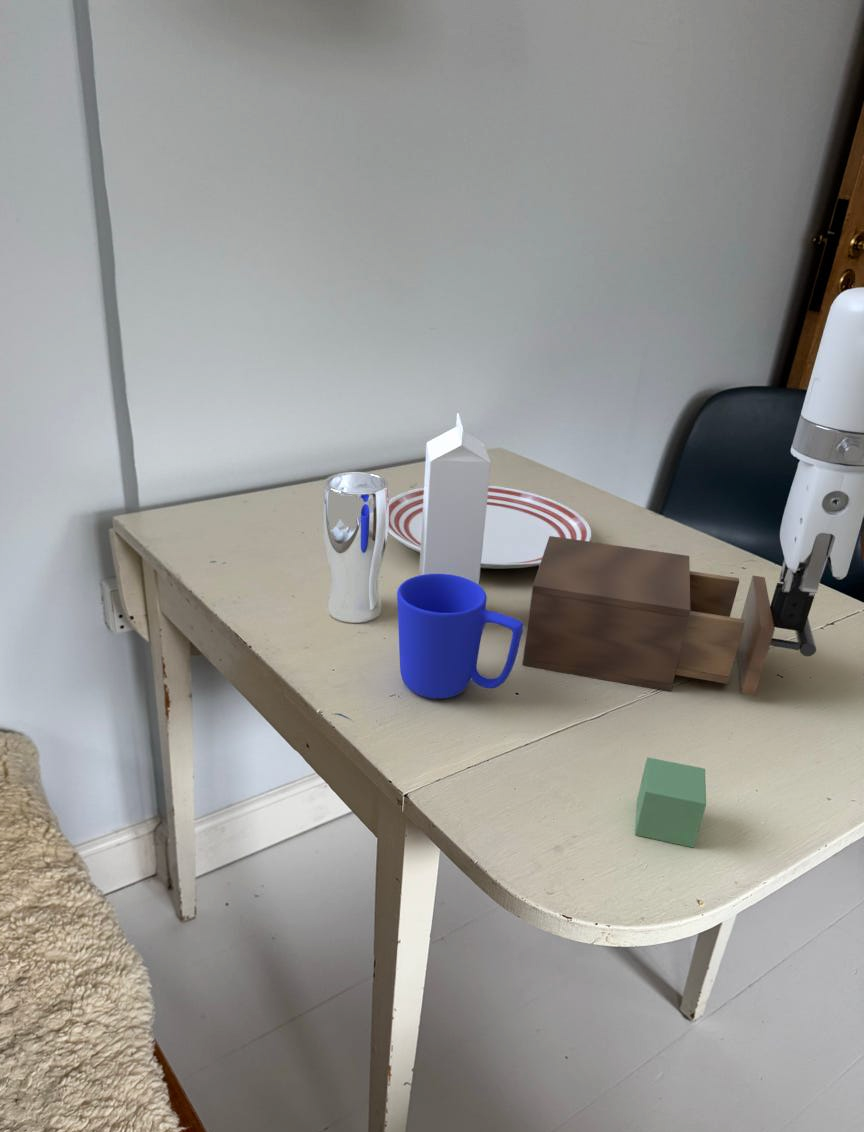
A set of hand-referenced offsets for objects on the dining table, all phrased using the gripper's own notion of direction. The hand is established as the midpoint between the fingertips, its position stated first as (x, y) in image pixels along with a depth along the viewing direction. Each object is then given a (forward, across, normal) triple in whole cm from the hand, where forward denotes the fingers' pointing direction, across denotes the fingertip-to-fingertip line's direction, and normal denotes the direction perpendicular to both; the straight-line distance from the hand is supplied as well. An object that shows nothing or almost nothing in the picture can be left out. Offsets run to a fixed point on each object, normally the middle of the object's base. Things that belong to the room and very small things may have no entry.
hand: (784, 624), depth 85 cm
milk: (+6, +1, +34) cm, 34 cm away
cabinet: (+6, 0, +17) cm, 18 cm away
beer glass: (+6, -1, +44) cm, 44 cm away
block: (+6, -26, +10) cm, 28 cm away
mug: (+6, -13, +30) cm, 33 cm away
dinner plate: (+6, +23, +34) cm, 41 cm away
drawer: (+5, 0, +6) cm, 8 cm away
